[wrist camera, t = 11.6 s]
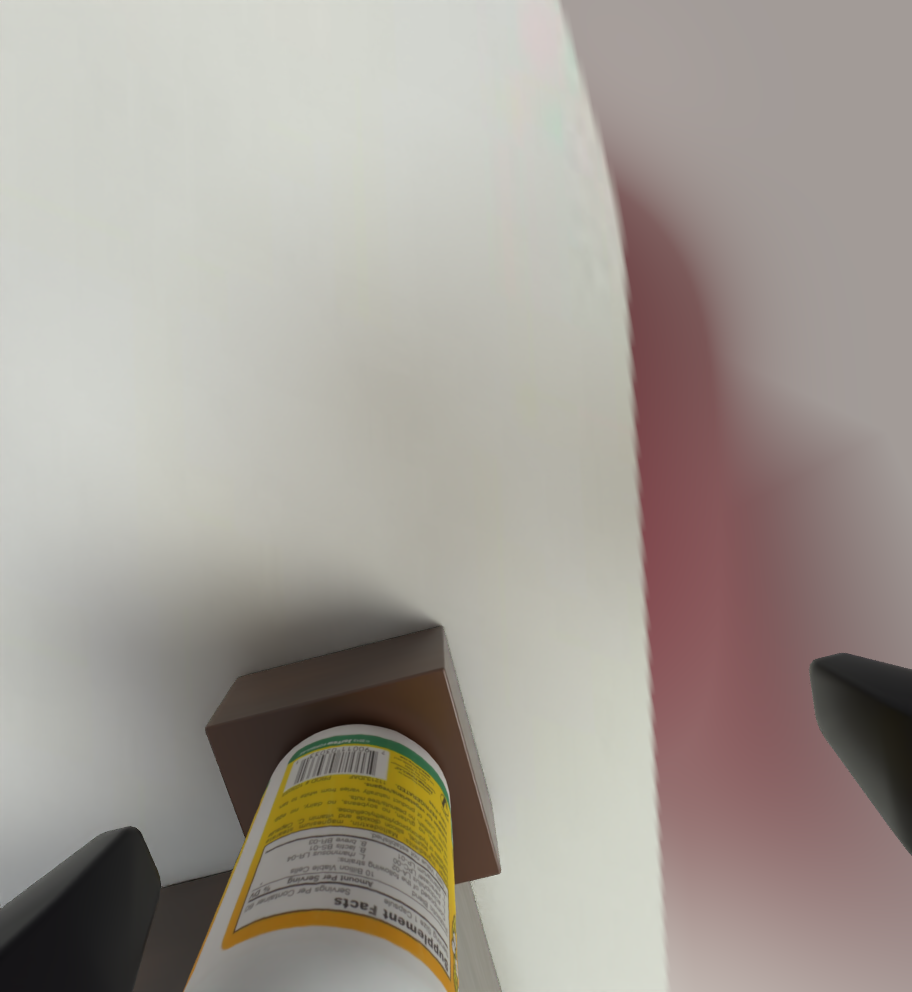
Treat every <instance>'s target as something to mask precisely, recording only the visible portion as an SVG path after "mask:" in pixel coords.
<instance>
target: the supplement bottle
mask: <svg viewBox="0 0 912 992" xmlns="http://www.w3.org/2000/svg"><path fill="white" fill-rule="evenodd" d="M183 992H459V979H458V962H457V934H456V905H455V882H454V861H453V837H452V821H451V805H450V795H449V790H448V786H447V782H446V779H445V777H444V775H443V772H442V771H441V769H440V767H439V765H438V764H437V763H436V762H435V760H434V759H433V758H432V757H431V756H430V755H429V754H428V753H427V751H425V750H424V749H423V748H422V747H421V746H419V745H418V744H417V743H416V742H414V741H412V740H411V739H409V738H407V737H406V736H404V735H402V734H400V733H399V732H397V731H394V730H391V729H387V728H383V727H379V726H373V725H364V724H352V725H342V726H337V727H333V728H330V729H327V730H323V731H321V732H318V733H316V734H314V735H312V736H310V737H308V738H307V739H305V740H303V741H302V742H301V743H299V744H298V745H297V746H295V747H294V748H293V749H292V750H291V751H290V752H289V753H288V754H287V755H286V756H285V757H284V758H283V759H282V760H281V762H280V763H279V764H278V766H277V768H276V769H275V771H274V772H273V774H272V776H271V778H270V780H269V783H268V785H267V787H266V789H265V792H264V794H263V796H262V799H261V802H260V805H259V807H258V810H257V812H256V814H255V816H254V819H253V821H252V824H251V827H250V829H249V832H248V834H247V837H246V839H245V841H244V844H243V846H242V849H241V851H240V854H239V856H238V858H237V861H236V863H235V866H234V868H233V871H232V873H231V876H230V878H229V881H228V883H227V886H226V888H225V891H224V893H223V896H222V898H221V901H220V903H219V906H218V908H217V910H216V913H215V915H214V918H213V920H212V923H211V925H210V928H209V930H208V932H207V935H206V937H205V940H204V942H203V945H202V947H201V949H200V952H199V954H198V957H197V959H196V961H195V964H194V966H193V968H192V971H191V973H190V976H189V978H188V981H187V983H186V986H185V988H184V990H183Z"/></svg>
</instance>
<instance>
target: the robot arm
mask: <svg viewBox="0 0 912 992" xmlns="http://www.w3.org/2000/svg"><path fill="white" fill-rule="evenodd" d="M809 671H810V681H811V687H812V694H813V702H814V709H815V715H816V720H817V723H818V726H819V728H820V730H821V732H822V734H823V735H824V737H825V739H826V740H827V741H828V743H829V744H830V746H831V747H832V748H833V749H834V751H835V752H836V754H837V755H838V757H839V758H840V759H841V761H842V762H843V763H844V765H845V766H846V768H847V769H848V770H849V772H850V773H851V775H852V776H853V777H854V779H855V780H856V781H857V783H858V784H859V786H860V787H861V788H862V790H863V791H864V793H865V794H866V795H867V797H868V798H869V799H870V801H871V802H872V804H873V805H874V806H875V808H876V809H877V810H878V812H879V813H880V815H881V816H882V817H883V819H884V820H885V822H886V823H887V824H888V826H889V827H890V828H891V830H892V831H893V832H894V834H895V835H896V836H897V838H898V839H899V840H900V842H901V843H902V844H903V846H904V847H905V848H906V849H907V851H908V852H909V853H910V854H911V855H912V669H908V668H904V667H899V666H895V665H892V664H888V663H884V662H879V661H876V660H872V659H867V658H863V657H859V656H855V655H851V654H847V653H839V654H835V655H831V656H827V657H822V658H818V659H815V660H813V662H812V663H811V664H810V670H809ZM160 891H161V881H160V876H159V873H158V870H157V868H156V866H155V863H154V861H153V859H152V857H151V854H150V852H149V850H148V847H147V845H146V843H145V841H144V838H143V836H142V834H141V832H140V831H139V830H138V829H137V828H135V827H131V826H129V827H125V828H120V829H116V830H112V831H108V832H105V833H102V834H100V835H99V836H97V837H96V838H94V839H93V840H92V841H90V842H89V843H88V844H86V845H85V846H84V847H82V848H81V849H80V850H78V851H77V852H76V853H74V854H73V855H72V856H70V857H69V858H68V859H66V860H65V861H64V862H62V863H61V864H60V865H58V866H57V867H56V868H54V869H53V870H52V871H50V872H49V873H48V874H46V875H45V876H44V877H42V878H41V879H40V880H38V881H37V882H36V883H34V884H33V885H32V886H30V887H29V888H28V889H26V890H25V891H24V892H22V893H21V894H20V895H18V896H17V897H16V898H14V899H13V900H12V901H10V902H9V903H8V904H6V905H5V906H4V907H2V908H1V909H0V992H133V989H134V985H135V982H136V978H137V975H138V971H139V968H140V964H141V961H142V957H143V954H144V950H145V947H146V943H147V940H148V936H149V933H150V929H151V926H152V922H153V919H154V915H155V912H156V908H157V905H158V901H159V897H160Z"/></svg>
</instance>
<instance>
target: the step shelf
mask: <svg viewBox="0 0 912 992" xmlns="http://www.w3.org/2000/svg"><path fill="white" fill-rule="evenodd" d="M352 724H364V725H373V726H379V727H383V728H387V729H391V730H394V731H397V732H399V733H400V734H402V735H404V736H406V737H407V738H409V739H411V740H412V741H414V742H416V743H417V744H418V745H419V746H421V747H422V748H423V749H424V750H425V751H427V753H428V754H429V755H430V756H431V757H432V758H433V759H434V760H435V762H436V763H437V764H438V765H439V767H440V769H441V771H442V772H443V775H444V777H445V779H446V782H447V786H448V790H449V795H450V805H451V821H452V837H453V861H454V882H455V905H456V934H457V962H458V979H459V992H502V991H501V987H500V984H499V980H498V977H497V974H496V970H495V967H494V963H493V960H492V956H491V953H490V949H489V946H488V943H487V939H486V936H485V932H484V929H483V925H482V922H481V918H480V915H479V912H478V908H477V905H476V901H475V898H474V894H473V891H472V887H471V884H470V881H473V880H477V879H481V878H485V877H489V876H493V875H497V874H500V873H501V865H500V858H499V851H498V844H497V837H496V830H495V823H494V815H493V808H492V803H491V799H490V796H489V792H488V788H487V785H486V781H485V777H484V774H483V770H482V766H481V763H480V759H479V755H478V752H477V748H476V744H475V741H474V737H473V734H472V730H471V726H470V723H469V719H468V715H467V712H466V708H465V704H464V701H463V697H462V693H461V690H460V686H459V682H458V679H457V675H456V671H455V668H454V664H453V660H452V657H451V653H450V649H449V646H448V642H447V638H446V635H445V631H444V628H443V626H439V627H435V628H431V629H427V630H423V631H419V632H415V633H411V634H407V635H403V636H399V637H395V638H391V639H387V640H383V641H380V642H376V643H372V644H368V645H364V646H360V647H356V648H352V649H348V650H344V651H340V652H336V653H332V654H328V655H324V656H320V657H316V658H312V659H308V660H304V661H300V662H296V663H292V664H288V665H284V666H280V667H276V668H272V669H268V670H264V671H260V672H256V673H252V674H249V675H245V676H241V677H238V678H237V679H236V680H235V682H234V684H233V685H232V687H231V688H230V690H229V691H228V693H227V694H226V696H225V698H224V699H223V701H222V702H221V704H220V705H219V707H218V708H217V710H216V711H215V713H214V715H213V716H212V718H211V719H210V721H209V722H208V724H207V725H206V727H205V731H206V734H207V737H208V740H209V742H210V745H211V748H212V750H213V753H214V756H215V758H216V761H217V764H218V766H219V769H220V772H221V774H222V777H223V780H224V782H225V785H226V788H227V790H228V793H229V796H230V798H231V801H232V804H233V806H234V809H235V812H236V814H237V817H238V820H239V822H240V825H241V828H242V831H243V833H244V836H245V839H246V837H247V834H248V832H249V829H250V827H251V824H252V821H253V819H254V816H255V814H256V812H257V810H258V807H259V805H260V802H261V799H262V796H263V794H264V792H265V789H266V787H267V785H268V783H269V780H270V778H271V776H272V774H273V772H274V771H275V769H276V768H277V766H278V764H279V763H280V762H281V760H282V759H283V758H284V757H285V756H286V755H287V754H288V753H289V752H290V751H291V750H292V749H293V748H294V747H295V746H297V745H298V744H299V743H301V742H302V741H303V740H305V739H307V738H308V737H310V736H312V735H314V734H316V733H318V732H321V731H323V730H327V729H330V728H333V727H337V726H342V725H352ZM231 873H232V871H230V872H225V873H221V874H217V875H213V876H209V877H205V878H201V879H197V880H193V881H189V882H185V883H181V884H177V885H173V886H169V887H165V888H161V891H160V897H159V901H158V905H157V908H156V912H155V915H154V919H153V922H152V926H151V929H150V933H149V936H148V940H147V943H146V947H145V950H144V954H143V957H142V961H141V964H140V968H139V971H138V975H137V978H136V982H135V985H134V989H133V992H183V990H184V988H185V986H186V983H187V981H188V978H189V976H190V973H191V971H192V968H193V966H194V964H195V961H196V959H197V957H198V954H199V952H200V949H201V947H202V945H203V942H204V940H205V937H206V935H207V932H208V930H209V928H210V925H211V923H212V920H213V918H214V915H215V913H216V910H217V908H218V906H219V903H220V901H221V898H222V896H223V893H224V891H225V888H226V886H227V883H228V881H229V878H230V876H231Z"/></svg>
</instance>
